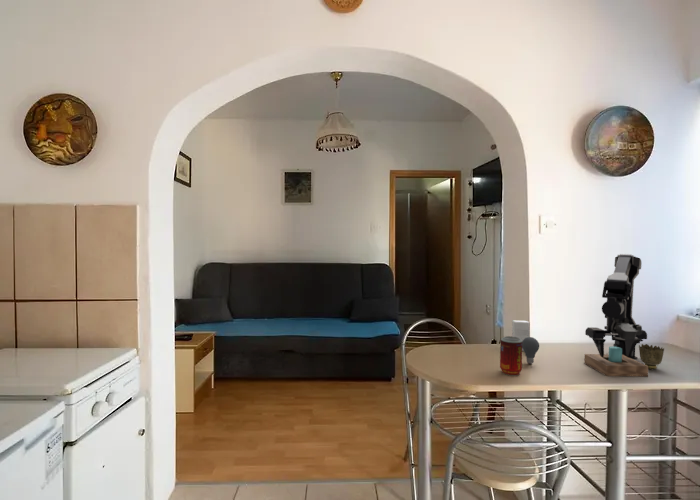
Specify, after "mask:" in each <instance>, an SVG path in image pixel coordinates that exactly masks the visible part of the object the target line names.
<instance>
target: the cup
mask: <svg viewBox="0 0 700 500" xmlns="http://www.w3.org/2000/svg"><path fill="white" fill-rule="evenodd" d="M638 348H639V349H638V350H639V351H638V352H639V357H640V360H641V363H642V364H644V365H647V366H648V370H652V369H655V370H656V369H657V368H658V366H659V365H661V364H662V361H663V358H664V353H665V347H660V346H659V345H658V346H657V345H654V346H653V344H651V345H649V344H647V343H645V344H643V343H642V344H641V345H640V344H639V345H638Z"/></svg>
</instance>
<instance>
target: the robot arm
mask: <svg viewBox="0 0 700 500" xmlns="http://www.w3.org/2000/svg"><path fill="white" fill-rule="evenodd" d="M614 267H615V268H614V271H613V274H610V275H608V276H607V279H606V280H605V281H604V283H603V289H602V294H601V298H604V299H606V301H605V302H604V303H603V304H602V306H601V311H602V314H603V315H604V318H605V319H606V325H604V329H602V328H599V327H592V326H591V327H587V328H586V329H585V333H584V334H585V335H586V336H587V337H588V338H590V339H592V341H593V343H594V344H595V346H596V348H597V351H598V354H600V356H601V357H603V356H604V354H605V342H606V341H607V339H605V338H606V336H608V337H609V336H611V341H614V343H613V347H619V348H622V355H624V356H627V357H628V358H631V359H633V360H637V359H638V356H636V346H637V345H638V344H640V343H641V342H643V341H644V340H648V333H647V331H646V330H644V329H643V328H642V327H643V326H642V325H641V324H640V323H639V324H637V323H636V321H635V319H634V318H633V305H634V303H633V302H634V283H635V279H636V278H637V277H638V276H639V274H640V270H642V259H641V258H639V257H637V256H635V255H633V254H629V253H619V254H617V256H616V257H615V258H614Z"/></svg>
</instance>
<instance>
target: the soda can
mask: <svg viewBox="0 0 700 500" xmlns="http://www.w3.org/2000/svg"><path fill="white" fill-rule="evenodd" d="M499 340H500V349H499V350H500V352H499V369H500V370H501V373H502V374H503V373H504V375H505V374H506V375H505V376H510V375H511V376H512V377H516V376H520V373H521V371H522V370H523V369H522V367H523V351H522V340H521V339H519V338H517V337H512V335H510V336H509V335H508V336H507V335H505V336H503V337H502V338H500V339H499Z"/></svg>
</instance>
